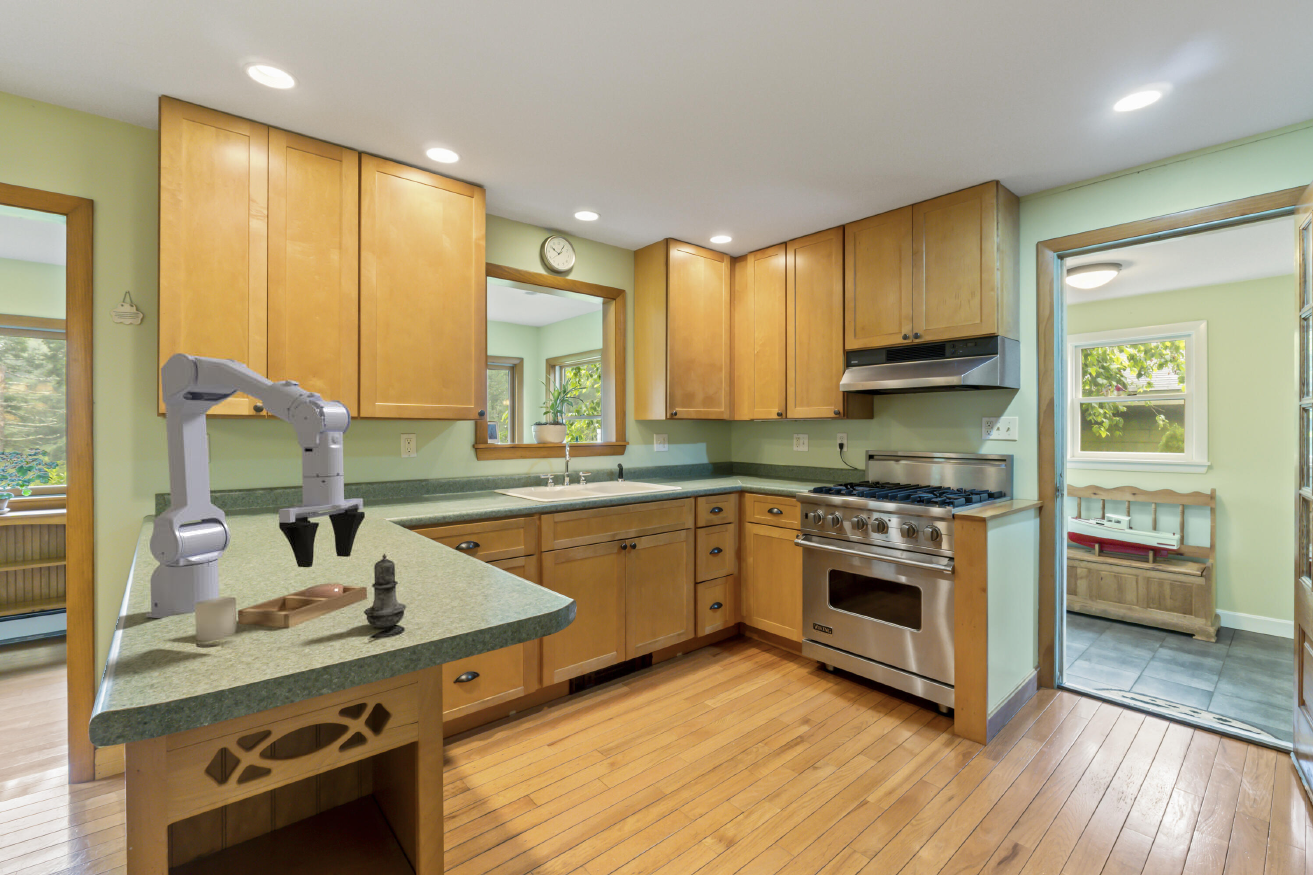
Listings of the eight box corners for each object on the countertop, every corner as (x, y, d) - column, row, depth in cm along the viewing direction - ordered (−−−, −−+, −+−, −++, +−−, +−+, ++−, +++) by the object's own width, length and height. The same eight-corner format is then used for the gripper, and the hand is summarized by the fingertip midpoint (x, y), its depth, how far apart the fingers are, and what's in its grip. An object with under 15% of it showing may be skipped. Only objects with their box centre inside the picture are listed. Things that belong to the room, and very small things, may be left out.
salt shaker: (390, 640, 86) (388, 558, 86) (355, 637, 87) (353, 557, 87) (414, 626, 92) (413, 550, 92) (381, 624, 93) (380, 549, 93)
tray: (238, 629, 92) (237, 610, 92) (321, 600, 107) (320, 584, 107) (289, 634, 89) (289, 614, 89) (367, 603, 105) (366, 587, 105)
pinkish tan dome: (298, 607, 100) (297, 590, 100) (324, 597, 105) (324, 582, 105) (325, 609, 99) (324, 592, 99) (350, 599, 104) (350, 584, 104)
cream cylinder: (187, 646, 85) (186, 604, 85) (220, 635, 90) (219, 595, 90) (213, 648, 84) (212, 607, 84) (244, 637, 88) (243, 597, 88)
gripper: (305, 480, 85) (307, 573, 85) (377, 472, 99) (379, 552, 99) (266, 479, 87) (268, 570, 87) (342, 472, 101) (344, 551, 101)
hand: (325, 561), depth 94 cm, fingers open, 7 cm apart
